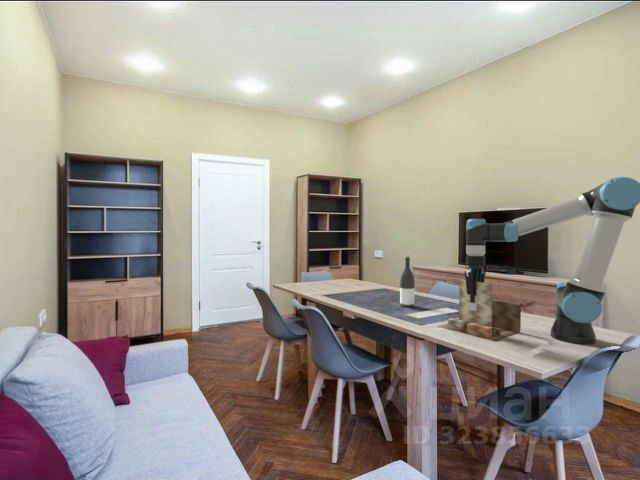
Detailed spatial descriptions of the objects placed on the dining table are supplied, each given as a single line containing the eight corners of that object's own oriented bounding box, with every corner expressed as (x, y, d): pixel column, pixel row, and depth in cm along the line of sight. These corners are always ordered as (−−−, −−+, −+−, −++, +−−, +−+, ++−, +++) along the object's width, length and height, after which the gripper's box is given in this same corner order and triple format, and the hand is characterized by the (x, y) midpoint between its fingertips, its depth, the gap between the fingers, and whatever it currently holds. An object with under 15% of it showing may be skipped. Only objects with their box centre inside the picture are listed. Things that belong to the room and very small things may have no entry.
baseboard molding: (401, 316, 182) (418, 321, 171) (401, 310, 181) (419, 315, 171) (442, 309, 197) (460, 313, 187) (442, 304, 197) (460, 308, 187)
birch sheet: (492, 326, 143) (492, 283, 143) (490, 327, 142) (490, 284, 142) (461, 320, 154) (461, 279, 154) (459, 320, 154) (459, 280, 153)
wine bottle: (399, 306, 200) (400, 255, 199) (400, 304, 208) (401, 254, 207) (413, 307, 198) (414, 255, 197) (414, 305, 206) (414, 254, 205)
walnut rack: (520, 336, 146) (520, 304, 145) (494, 345, 133) (495, 310, 133) (463, 322, 167) (463, 294, 166) (436, 329, 154) (437, 299, 154)
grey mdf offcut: (464, 330, 148) (464, 321, 148) (460, 331, 147) (460, 322, 147) (451, 327, 153) (451, 318, 153) (447, 328, 152) (447, 319, 151)
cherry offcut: (491, 337, 139) (492, 327, 139) (487, 338, 137) (488, 328, 137) (470, 331, 146) (471, 322, 146) (466, 333, 144) (467, 323, 144)
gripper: (476, 253, 155) (476, 306, 156) (457, 255, 146) (457, 310, 147) (493, 254, 149) (492, 309, 149) (474, 256, 140) (474, 314, 141)
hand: (475, 309), depth 148 cm, fingers closed on birch sheet, 2 cm apart
